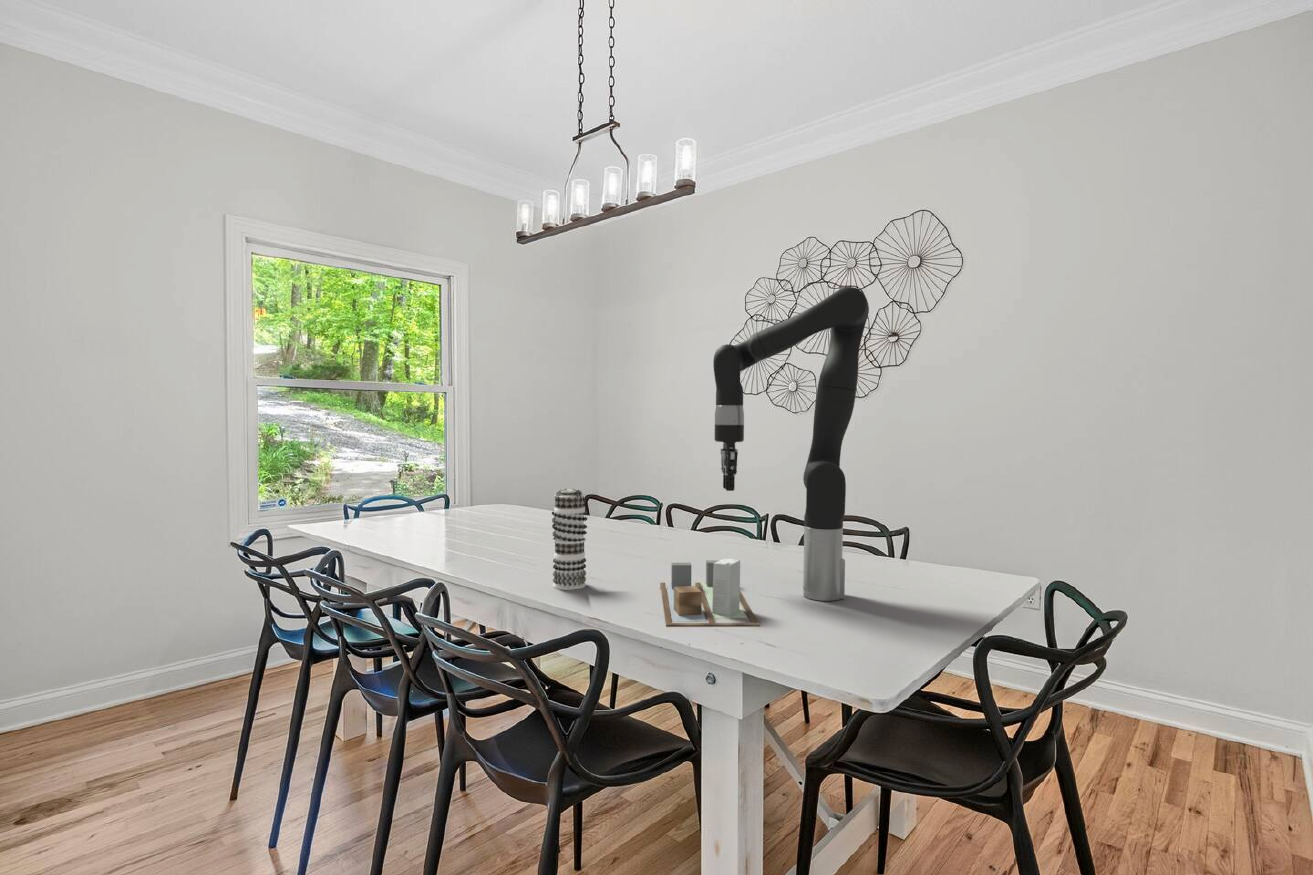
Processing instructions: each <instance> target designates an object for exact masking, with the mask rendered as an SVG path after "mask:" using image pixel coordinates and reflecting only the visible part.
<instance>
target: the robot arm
mask: <svg viewBox="0 0 1313 875" xmlns="http://www.w3.org/2000/svg"><path fill="white" fill-rule="evenodd" d="M869 312H870V307H869V302H868V298H867V297H866V295H865V294H864V293H863V291H861V289H859V288H857V287H853V286H846V287H842V288H840V289H838V290H836V291H835V292H833V293H832V294H830V295H829V296H827V297H825V298H824V299H822V300H821V301H820V302H817V303H816V304H814V305H813V306H811V307H809V308H808V309H806V310H804V311H802V312H800V313H797V314H796V315H793V316H792V317H789V318H787V319H785V320H782V321H780V322H778V323H775V324H773V325H771V326H768V327H767V328H764V329H762V330H759V331H757V332H756V333H753V334H752V335H750V336H749V337H748V339H746V340H744V341H741V342H739V343H738V344H734V345H732V344H723V345H721V346H719V347H718V348H717V349H716V351H715V352H714V355H713V361H712V362H713V366H712V367H713V375H714V381H715V388H716V389H715V391H716V392H715V411H714V442H718V443H722V445H723V446H722V448H720V456H721V457H720V464H721V468H720V469H721V474H722V487H723V489H724V490H725V491H727V492H733V491H735V483H736V482H735V479H736V478H735V477H736V475H737V472H738V471H737V470H738V467H737V466H738V455H739V453H738V452H739V451H738V449H737V448H736V443H742V442H744V440H745V412H744V411H745V410H744V388H743V385H742V383H741V372H742V371H744V370H747V369H749V368H750V367H752V366H754V365H755V364H757V363H759V362H761V361H764V360H766V359H769V358H772V357H773V356H776V355H778V354H781V353H782V352H785V351H787V350H789V349H791V348H793V347H794V346H797V344H800V343H801V342H803V341H804V340H806V339H807V338H809V337H812V336H814V335H815V334H818V333H820V332H822V331H826V330H829V329H830V337H829V338H830V339H829V347H828V351H827V354H826V357H825V359H824V363H823V366H822V368H821V372H820V375H819V378H818V383H817V390H816V396H815V404H814V413H813V415H814V416H813V426H812V428H813V429H812V430H813V431H812V438H811V439H812V440H811V445H810V449H809V454H808V457H807V461H806V466H805V468H804V472H803V476H802V477H803V479H802V480H803V484H804V487H805V489H806V495H805V497H806V499H805V502H806V503H805V512H804V518H803V520H804V521H803V524H804V525H803V584H802V588H803V589H802V590H803V592H802V595H803V597H805V598H807V599H810V600H813V601H814V600H817V601H822V602H826V601H827V602H830V601H838V600H845V599H846V598H845V596H846V595H845V594H846V593H845V592H846V591H845V589H846V584H845V583H846V582H845V581H846V580H845V579H846V560H845V558H843V549H844V548H843V547H844V546H843V545H844V544H843V543H844V541H843V539H844V538H843V537H844V535H843V534H844V528H843V527H844V518H845V514H846V491H847V488H846V487H847V484H846V477H845V473H844V471H843V470H842V468H841V467H840V465H841V452H842V445H843V441H844V437H845V435H846V432H847V430H848V427H849V425H850V424H849V423H850V421H851V420H852V416H853V412H854V408H855V403H856V396H857V387H858V380H859V379H858V378H859V377H858V376H859V362H860V361H859V356H860V347H861V342H862V339H863V335H864V331H865V328H866V327H865V326H866V324H867V320H868V316H869V314H870V313H869Z"/></svg>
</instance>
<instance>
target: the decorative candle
mask: <svg viewBox="0 0 1313 875" xmlns="http://www.w3.org/2000/svg"><path fill="white" fill-rule="evenodd" d="M585 496H586V495H585V494H583V492H582V491H581V490H580V489H578V488H560V489H558V491H556V494H554V495H553V497H554V504H555V505H554V511H551V515H552V516H553V517H552V518H551V522H552V523H553V524H552V526H551V529H553V530H554V531H552V536H553V538H552V540H553V543H555V544H554V552H553V553H554V558H553V560H552V562H553V563H554V564H553V565H552V568H553V569H554V571H553V573H552V576H553V578H552V582H553V584H552V586H553V587H552V588H554V589H557V590H561V591H562V590H564V591H566V590H567V591H570V590H571V591H572V590H580V589H583V588H585V587H586V586H587V584H586V582H587V577H586V576H587V571H586V570H585V569H586V568H587V565H586V564H585V563H586V562H587V558H586V552H585V542H587V541H586V540H587V539H586V537H585V535H587V533H588V532H587V531H586V529H587V528H588V526H587V525H586V524H585V522H586V521H588V518H587V515H588V514H589V512H588V511H586V506H585Z"/></svg>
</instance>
